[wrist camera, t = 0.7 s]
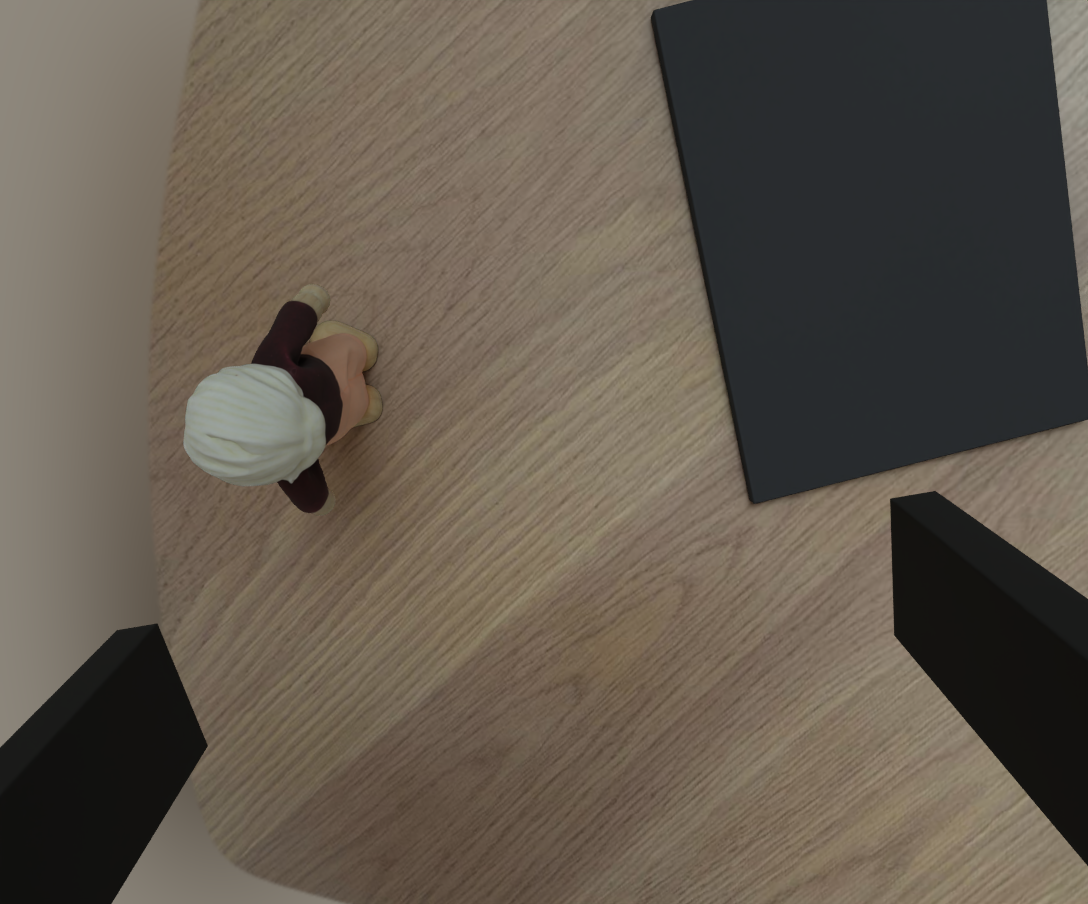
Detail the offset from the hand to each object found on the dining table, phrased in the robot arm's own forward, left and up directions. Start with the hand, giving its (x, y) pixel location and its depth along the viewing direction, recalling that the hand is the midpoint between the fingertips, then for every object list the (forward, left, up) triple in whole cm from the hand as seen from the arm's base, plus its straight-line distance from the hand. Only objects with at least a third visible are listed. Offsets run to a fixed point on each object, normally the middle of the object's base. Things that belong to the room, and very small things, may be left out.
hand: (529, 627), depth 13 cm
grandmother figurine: (-4, -6, -18) cm, 20 cm away
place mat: (-5, +17, -18) cm, 25 cm away
